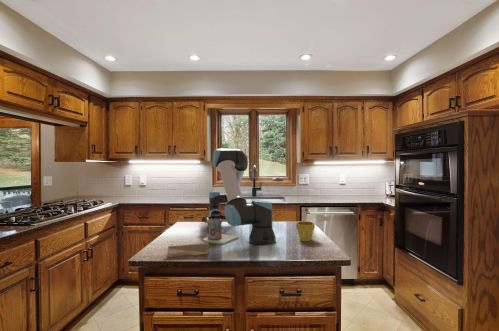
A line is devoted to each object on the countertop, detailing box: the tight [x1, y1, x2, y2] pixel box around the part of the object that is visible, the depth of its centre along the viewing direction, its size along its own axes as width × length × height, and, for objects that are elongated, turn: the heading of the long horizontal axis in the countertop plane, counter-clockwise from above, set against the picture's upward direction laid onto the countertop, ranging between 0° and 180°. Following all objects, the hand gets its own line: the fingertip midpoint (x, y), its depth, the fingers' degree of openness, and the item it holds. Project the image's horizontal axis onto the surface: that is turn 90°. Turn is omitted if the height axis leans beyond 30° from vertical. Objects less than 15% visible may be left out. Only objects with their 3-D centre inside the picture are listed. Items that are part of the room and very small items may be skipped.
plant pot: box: [295, 220, 315, 242], centre depth 159 cm, size 10×10×10 cm
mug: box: [207, 219, 223, 239], centre depth 163 cm, size 12×9×11 cm
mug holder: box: [167, 241, 210, 258], centre depth 144 cm, size 18×19×5 cm
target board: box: [202, 233, 240, 246], centre depth 162 cm, size 15×15×1 cm
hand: (219, 221), depth 171 cm, fingers open, 13 cm apart
